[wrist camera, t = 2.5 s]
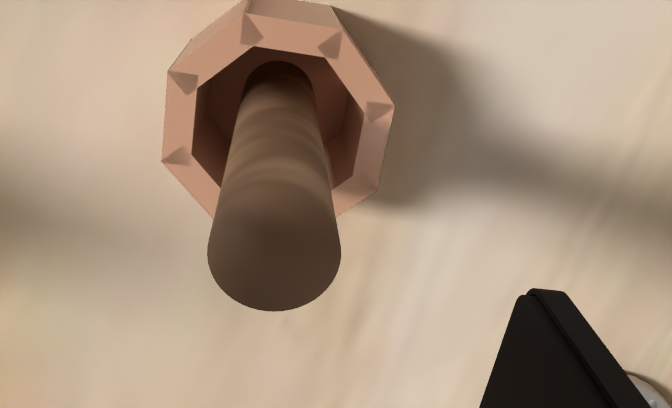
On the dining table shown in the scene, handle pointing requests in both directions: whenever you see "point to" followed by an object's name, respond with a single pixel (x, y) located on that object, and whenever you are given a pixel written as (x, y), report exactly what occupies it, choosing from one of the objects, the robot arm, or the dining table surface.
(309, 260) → the dowel
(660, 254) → the dining table surface
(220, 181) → the cup
